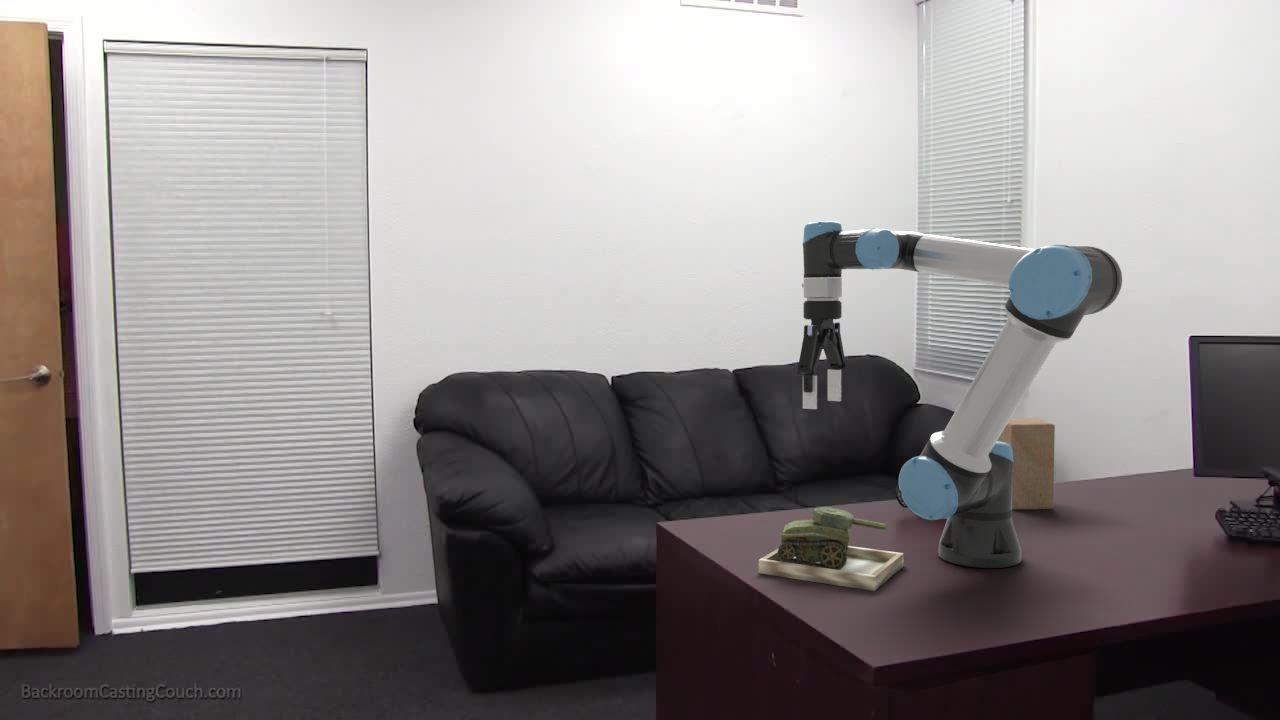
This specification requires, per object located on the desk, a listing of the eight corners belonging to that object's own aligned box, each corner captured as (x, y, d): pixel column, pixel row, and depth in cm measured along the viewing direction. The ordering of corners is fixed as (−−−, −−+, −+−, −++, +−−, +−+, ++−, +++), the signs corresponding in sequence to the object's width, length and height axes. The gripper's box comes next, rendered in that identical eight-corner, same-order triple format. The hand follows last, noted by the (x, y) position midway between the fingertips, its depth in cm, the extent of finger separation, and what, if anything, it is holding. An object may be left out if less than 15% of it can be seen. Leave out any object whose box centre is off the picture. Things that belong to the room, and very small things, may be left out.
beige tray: (903, 566, 186) (903, 553, 186) (874, 591, 172) (874, 577, 172) (794, 551, 198) (794, 538, 197) (758, 573, 183) (758, 559, 183)
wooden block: (1054, 509, 229) (1055, 424, 227) (1010, 510, 229) (1011, 424, 227) (1037, 500, 239) (1038, 417, 237) (995, 500, 239) (996, 418, 237)
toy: (878, 581, 178) (887, 527, 177) (776, 560, 182) (784, 507, 181) (877, 565, 188) (886, 514, 187) (781, 546, 192) (789, 496, 190)
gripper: (827, 298, 211) (827, 397, 213) (780, 301, 190) (780, 411, 191) (861, 298, 207) (860, 398, 209) (817, 301, 186) (817, 413, 187)
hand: (822, 404), depth 200 cm, fingers open, 13 cm apart
